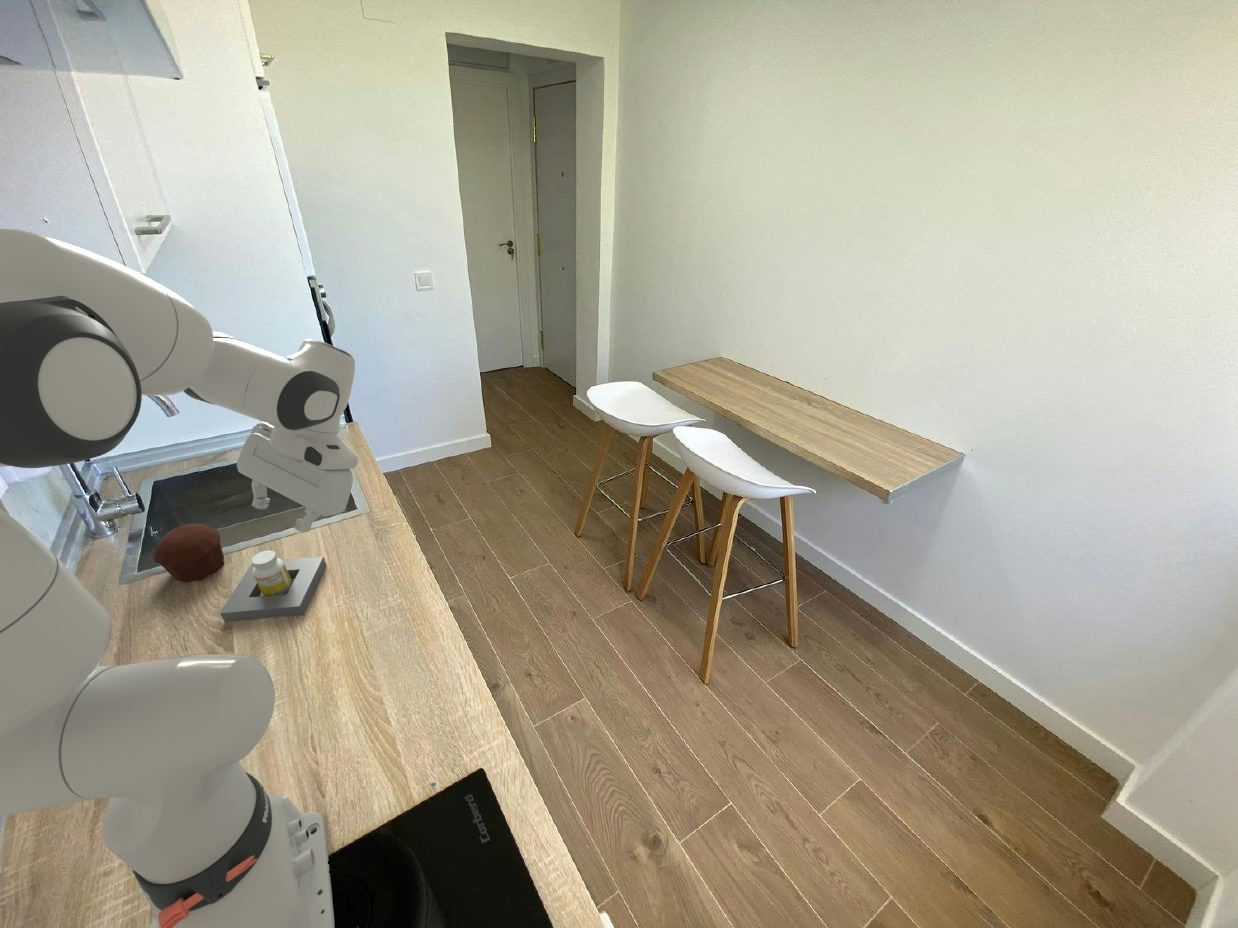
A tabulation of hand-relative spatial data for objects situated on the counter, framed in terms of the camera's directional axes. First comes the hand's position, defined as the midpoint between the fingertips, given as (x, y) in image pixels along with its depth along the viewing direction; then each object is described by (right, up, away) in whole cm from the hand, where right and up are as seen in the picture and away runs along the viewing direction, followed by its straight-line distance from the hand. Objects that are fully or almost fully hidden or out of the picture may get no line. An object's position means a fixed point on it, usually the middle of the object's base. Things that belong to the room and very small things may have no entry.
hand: (280, 518), depth 83 cm
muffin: (-35, -14, +26) cm, 45 cm away
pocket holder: (-14, -17, +21) cm, 31 cm away
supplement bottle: (-14, -17, +21) cm, 31 cm away
